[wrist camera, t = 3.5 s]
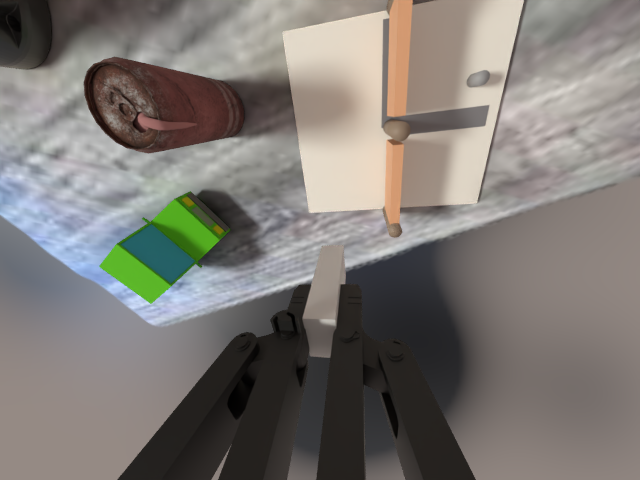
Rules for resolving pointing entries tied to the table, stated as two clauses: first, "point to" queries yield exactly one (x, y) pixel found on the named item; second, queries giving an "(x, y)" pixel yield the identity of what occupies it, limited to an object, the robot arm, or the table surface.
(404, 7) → the fixed panel
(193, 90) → the can
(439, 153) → the card
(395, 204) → the panel
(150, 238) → the toy car
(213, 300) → the table surface
